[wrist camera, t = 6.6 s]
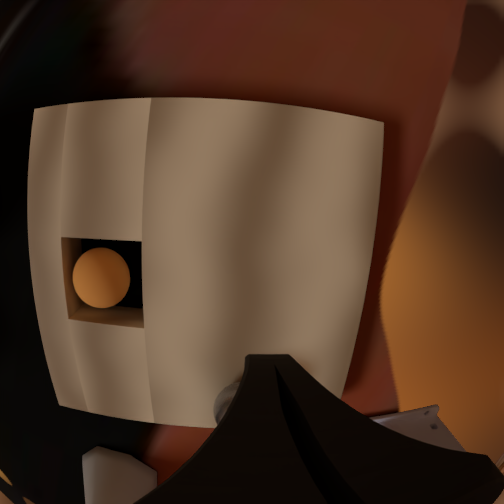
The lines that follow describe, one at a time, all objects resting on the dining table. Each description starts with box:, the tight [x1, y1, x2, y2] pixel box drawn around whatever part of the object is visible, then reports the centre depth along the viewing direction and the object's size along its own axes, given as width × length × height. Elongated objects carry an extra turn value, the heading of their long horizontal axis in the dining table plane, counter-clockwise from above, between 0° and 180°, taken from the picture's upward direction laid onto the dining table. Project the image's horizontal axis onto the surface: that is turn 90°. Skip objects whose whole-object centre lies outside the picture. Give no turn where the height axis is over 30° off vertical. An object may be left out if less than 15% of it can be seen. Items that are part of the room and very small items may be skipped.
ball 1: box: [73, 248, 130, 308], centre depth 15 cm, size 3×3×3 cm
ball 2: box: [213, 382, 240, 425], centre depth 15 cm, size 3×3×3 cm
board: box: [28, 98, 384, 428], centre depth 16 cm, size 18×18×2 cm
